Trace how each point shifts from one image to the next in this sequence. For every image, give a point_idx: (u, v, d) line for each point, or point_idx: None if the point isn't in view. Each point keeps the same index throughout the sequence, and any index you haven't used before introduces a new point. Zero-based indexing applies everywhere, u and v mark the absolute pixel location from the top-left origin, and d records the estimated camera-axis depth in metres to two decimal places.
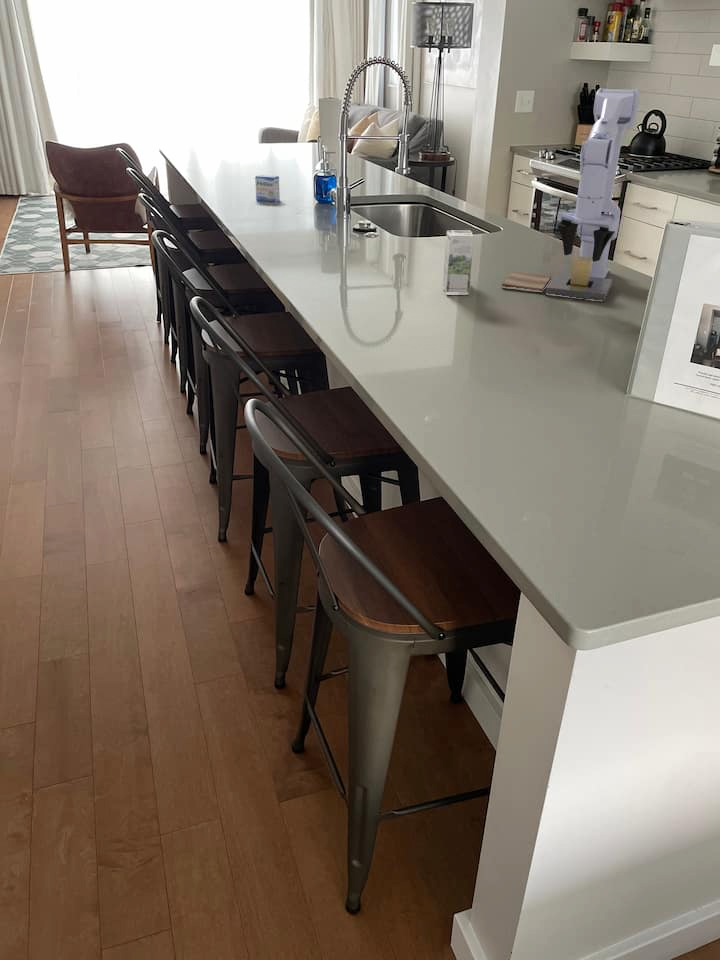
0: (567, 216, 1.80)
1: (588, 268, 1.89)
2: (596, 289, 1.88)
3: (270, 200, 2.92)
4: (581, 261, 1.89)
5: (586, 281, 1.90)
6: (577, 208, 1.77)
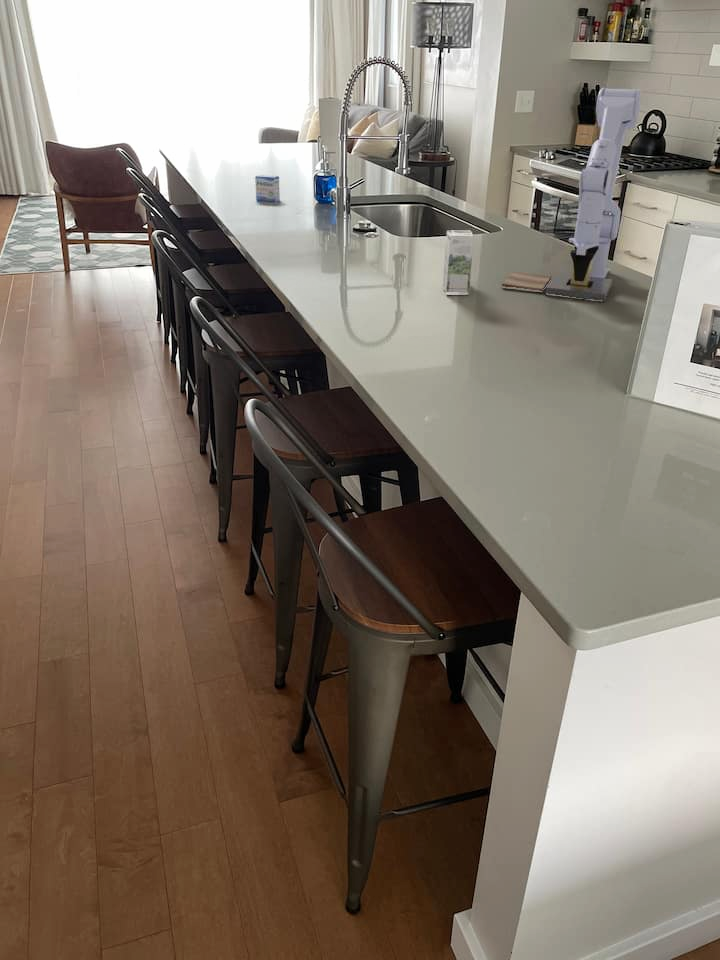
0: None
1: (588, 268, 1.89)
2: (596, 289, 1.88)
3: (270, 200, 2.92)
4: None
5: (586, 281, 1.90)
6: None
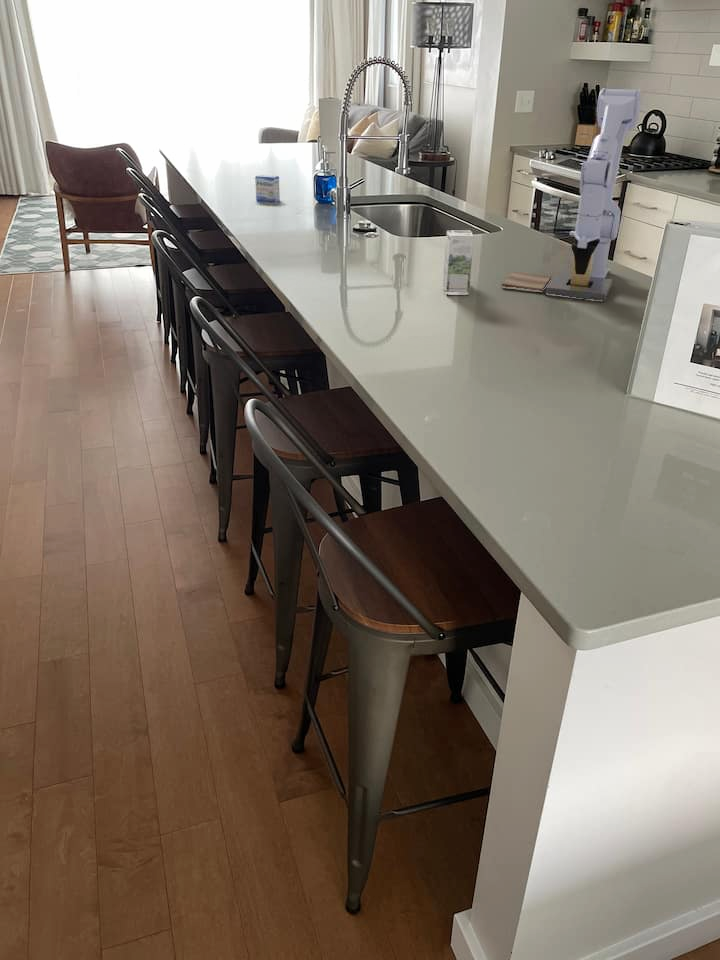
0: None
1: (589, 261, 1.88)
2: (596, 289, 1.88)
3: (270, 200, 2.92)
4: None
5: (587, 274, 1.90)
6: None
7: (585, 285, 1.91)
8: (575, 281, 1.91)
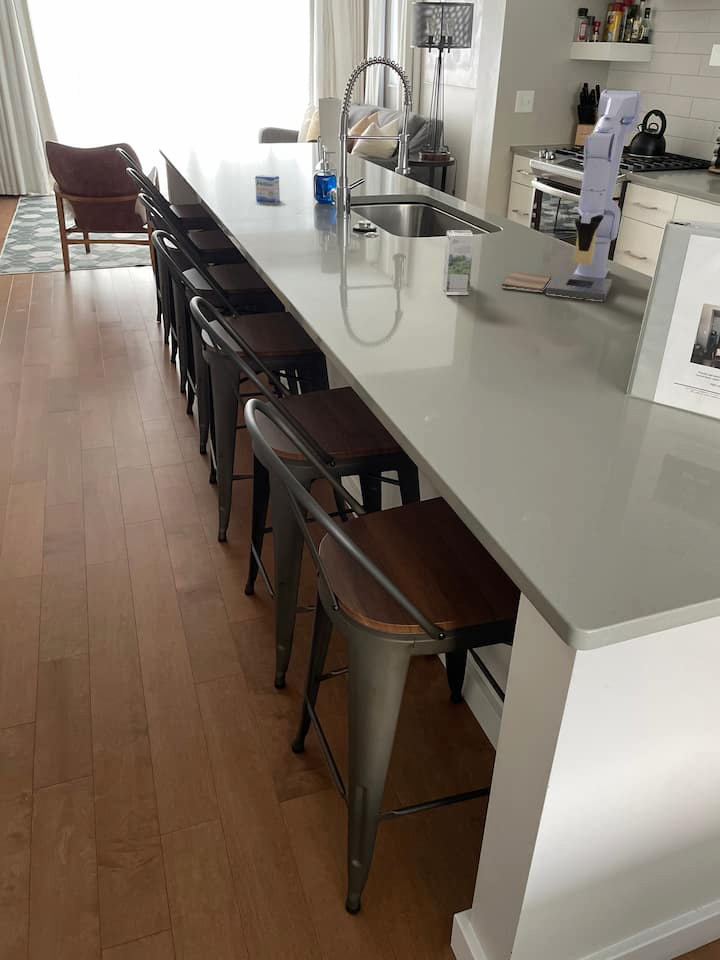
0: None
1: (593, 237, 1.85)
2: (596, 289, 1.88)
3: (270, 200, 2.92)
4: None
5: (591, 251, 1.87)
6: None
7: (588, 262, 1.88)
8: (579, 258, 1.89)
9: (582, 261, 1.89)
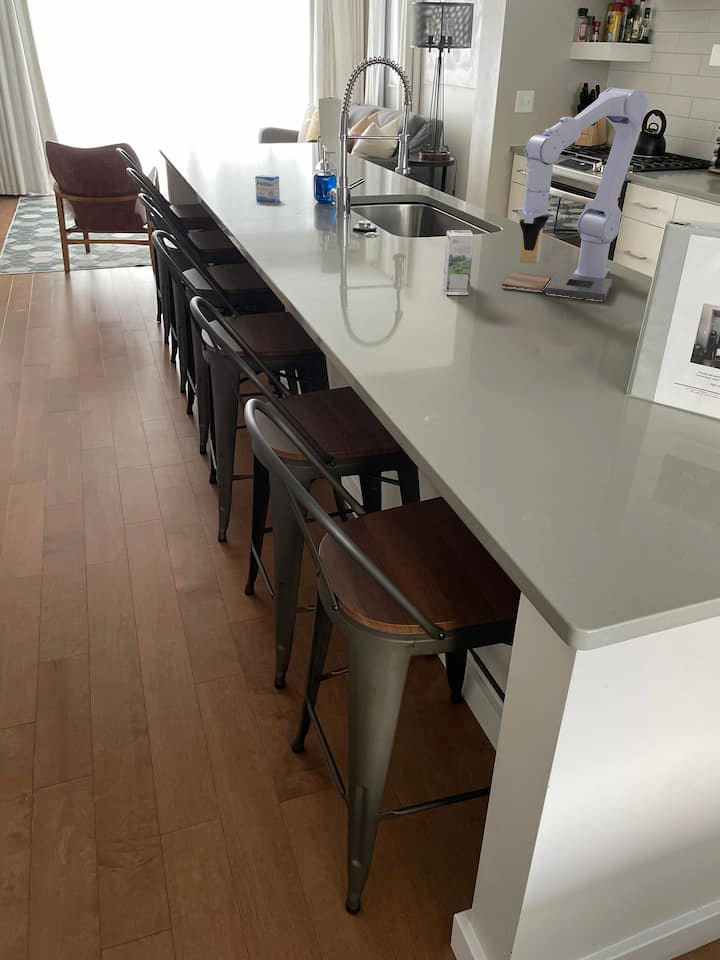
0: None
1: (538, 237, 1.91)
2: (596, 289, 1.88)
3: (270, 200, 2.92)
4: None
5: (536, 250, 1.92)
6: None
7: (534, 261, 1.93)
8: (525, 257, 1.94)
9: (528, 260, 1.94)
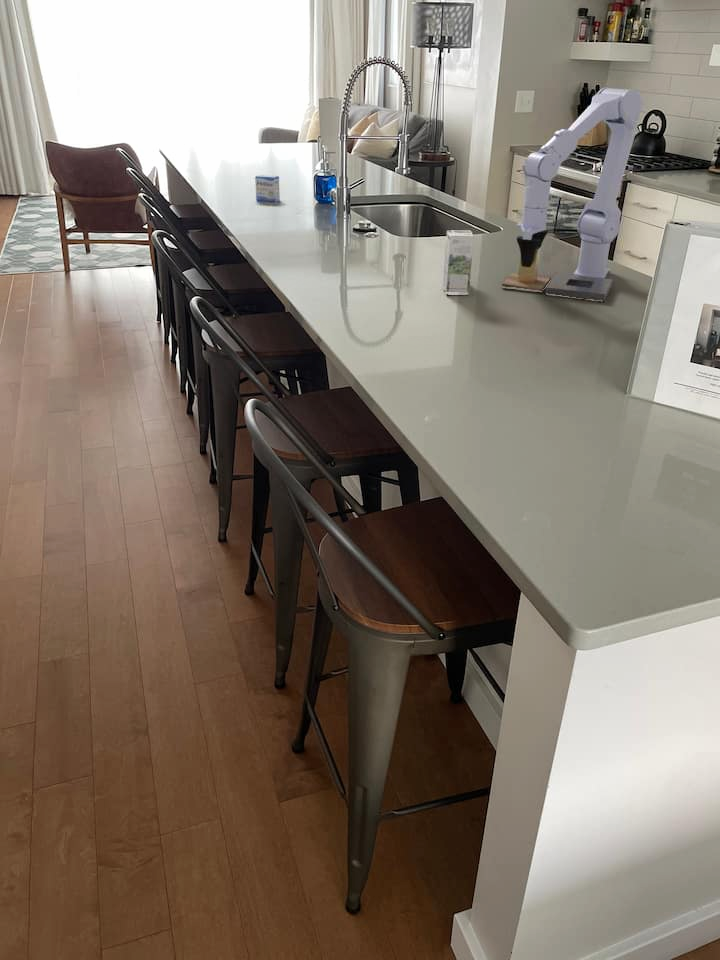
0: None
1: (535, 257, 1.93)
2: (596, 289, 1.88)
3: (270, 200, 2.92)
4: None
5: (534, 270, 1.94)
6: None
7: (532, 280, 1.96)
8: (523, 276, 1.96)
9: (526, 279, 1.96)
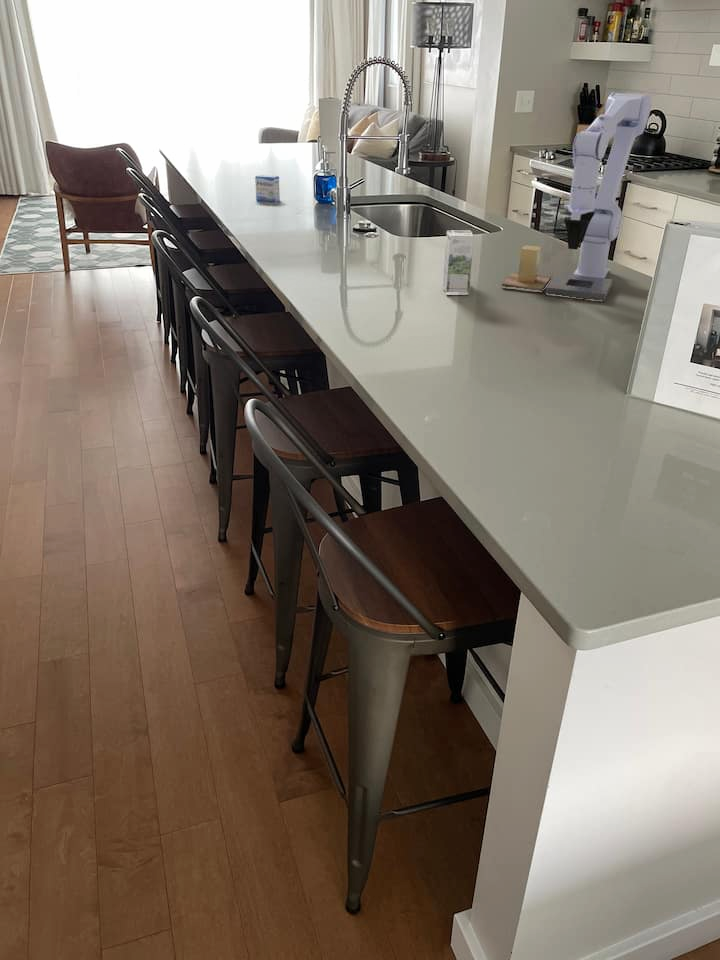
0: None
1: (535, 257, 1.93)
2: (596, 289, 1.88)
3: (270, 200, 2.92)
4: (528, 250, 1.93)
5: (534, 270, 1.94)
6: None
7: (532, 280, 1.96)
8: (523, 276, 1.96)
9: (526, 279, 1.96)
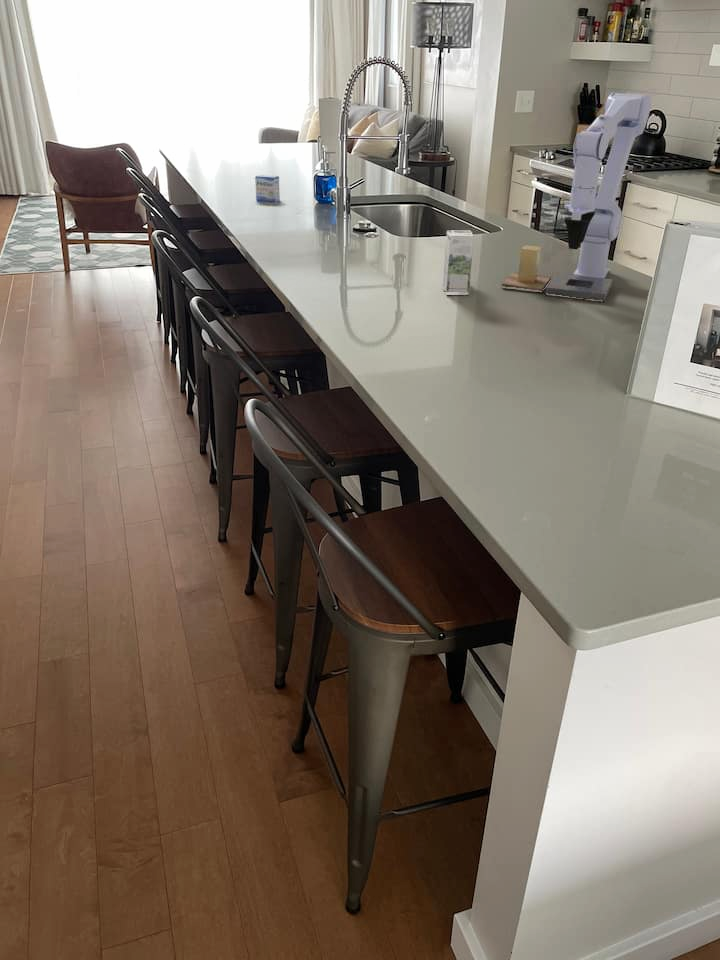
0: None
1: (535, 257, 1.93)
2: (596, 289, 1.88)
3: (270, 200, 2.92)
4: (528, 250, 1.93)
5: (534, 270, 1.94)
6: None
7: (532, 280, 1.96)
8: (523, 276, 1.96)
9: (526, 279, 1.96)
